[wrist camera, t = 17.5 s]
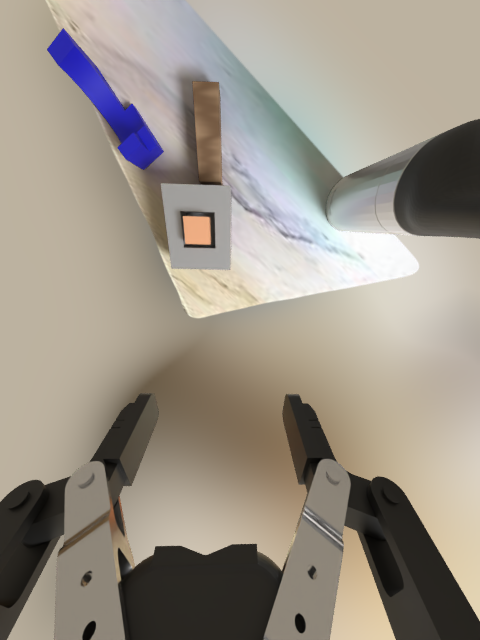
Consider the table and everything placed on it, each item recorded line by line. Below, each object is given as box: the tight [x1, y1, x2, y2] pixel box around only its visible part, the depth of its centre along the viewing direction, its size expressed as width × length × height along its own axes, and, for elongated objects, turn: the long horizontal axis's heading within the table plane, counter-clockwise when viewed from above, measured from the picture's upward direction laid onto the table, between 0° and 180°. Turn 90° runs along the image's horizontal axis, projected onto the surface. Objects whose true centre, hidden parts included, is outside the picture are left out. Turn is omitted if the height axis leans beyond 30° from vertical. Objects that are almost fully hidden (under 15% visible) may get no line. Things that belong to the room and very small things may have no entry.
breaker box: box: [161, 183, 231, 270], centre depth 33 cm, size 10×12×7 cm
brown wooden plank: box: [192, 81, 222, 186], centre depth 30 cm, size 4×4×11 cm
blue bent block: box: [47, 28, 164, 170], centre depth 27 cm, size 12×4×6 cm, turn 33°
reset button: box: [183, 216, 211, 245], centre depth 30 cm, size 4×4×3 cm
